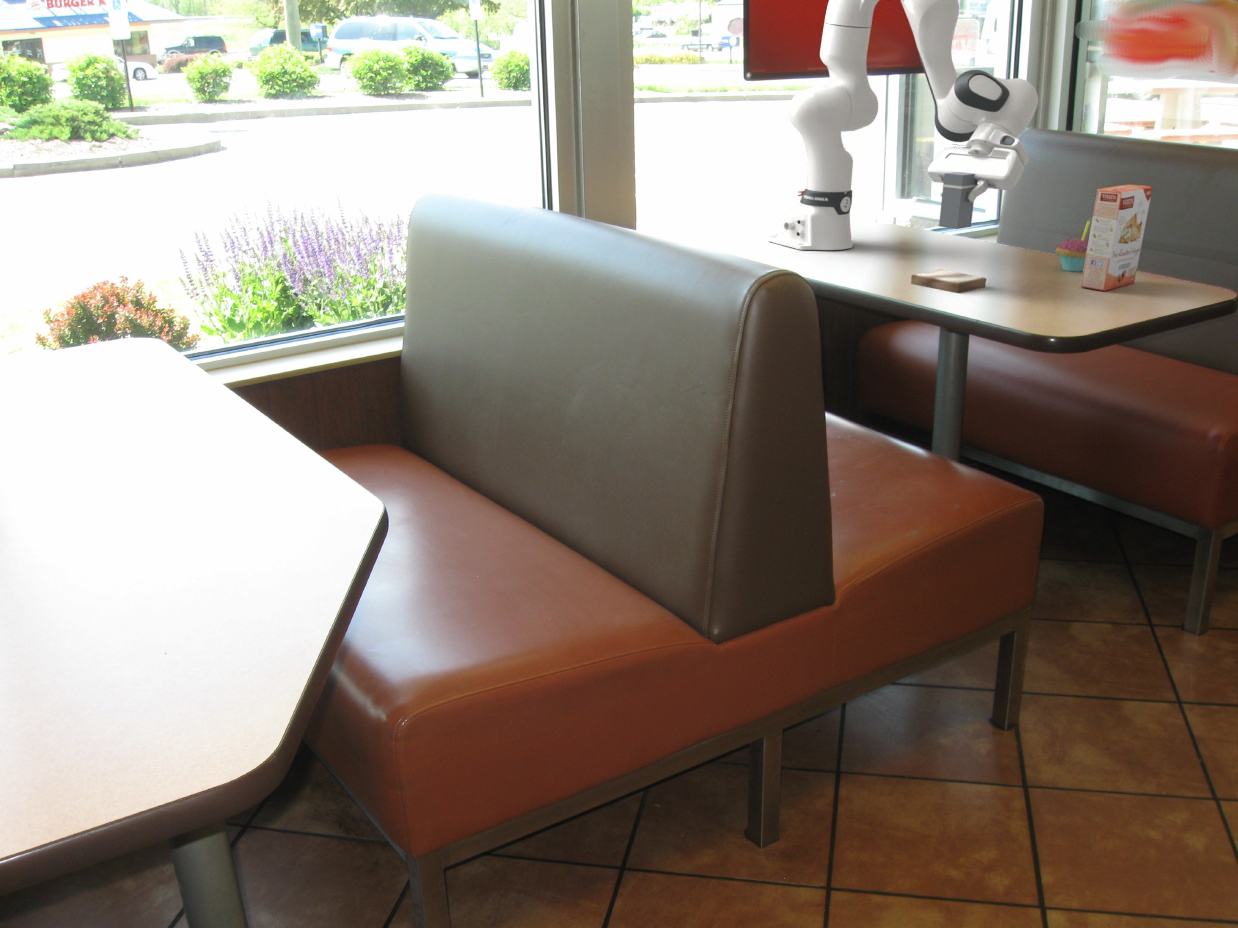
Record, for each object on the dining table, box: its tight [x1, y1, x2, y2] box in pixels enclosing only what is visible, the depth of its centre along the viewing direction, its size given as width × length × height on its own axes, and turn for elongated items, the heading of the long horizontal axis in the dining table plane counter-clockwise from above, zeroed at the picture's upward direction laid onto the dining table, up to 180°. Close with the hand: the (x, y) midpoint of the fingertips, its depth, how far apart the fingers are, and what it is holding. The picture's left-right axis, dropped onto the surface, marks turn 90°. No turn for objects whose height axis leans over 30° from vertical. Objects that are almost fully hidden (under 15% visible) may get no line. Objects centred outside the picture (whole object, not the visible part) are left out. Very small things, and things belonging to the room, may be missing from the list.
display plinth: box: [910, 268, 987, 294], centre depth 237 cm, size 12×10×2 cm
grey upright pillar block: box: [938, 172, 976, 230], centre depth 231 cm, size 5×5×11 cm
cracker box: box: [1080, 184, 1153, 292], centre depth 234 cm, size 14×6×21 cm, turn 131°
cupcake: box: [1055, 217, 1092, 272], centre depth 251 cm, size 9×8×12 cm
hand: (956, 198), depth 231 cm, fingers closed on grey upright pillar block, 4 cm apart
